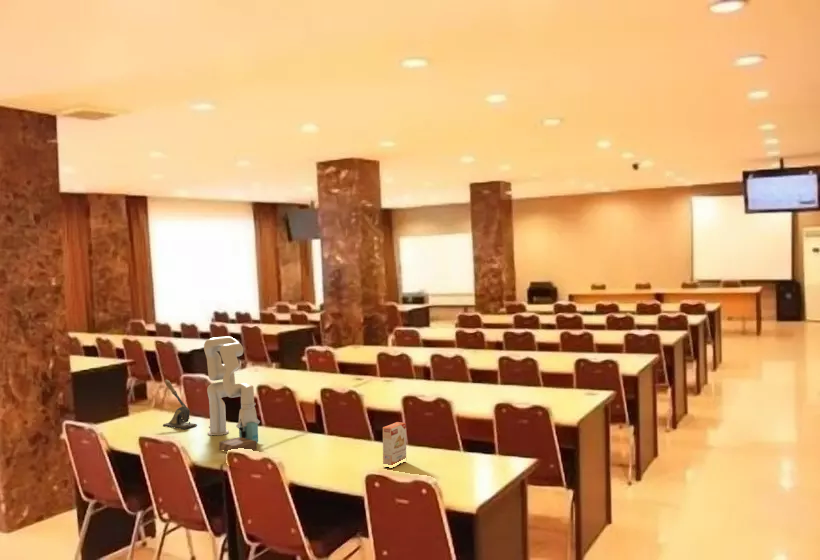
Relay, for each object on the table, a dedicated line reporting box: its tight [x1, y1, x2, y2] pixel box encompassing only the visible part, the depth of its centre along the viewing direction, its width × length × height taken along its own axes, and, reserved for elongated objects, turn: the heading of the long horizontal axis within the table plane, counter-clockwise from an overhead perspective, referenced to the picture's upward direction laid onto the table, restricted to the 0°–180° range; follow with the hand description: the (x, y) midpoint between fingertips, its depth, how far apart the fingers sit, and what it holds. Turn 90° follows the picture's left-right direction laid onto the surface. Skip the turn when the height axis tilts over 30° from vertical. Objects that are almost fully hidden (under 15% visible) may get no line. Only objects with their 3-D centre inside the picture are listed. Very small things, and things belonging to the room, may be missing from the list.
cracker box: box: [382, 421, 407, 465], centre depth 369 cm, size 14×6×21 cm, turn 148°
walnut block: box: [218, 437, 257, 452], centre depth 406 cm, size 16×14×5 cm
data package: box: [238, 422, 259, 444], centre depth 422 cm, size 12×4×12 cm, turn 51°
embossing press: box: [162, 379, 198, 430], centre depth 468 cm, size 11×24×30 cm, turn 54°
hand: (248, 436), depth 422 cm, fingers open, 6 cm apart
